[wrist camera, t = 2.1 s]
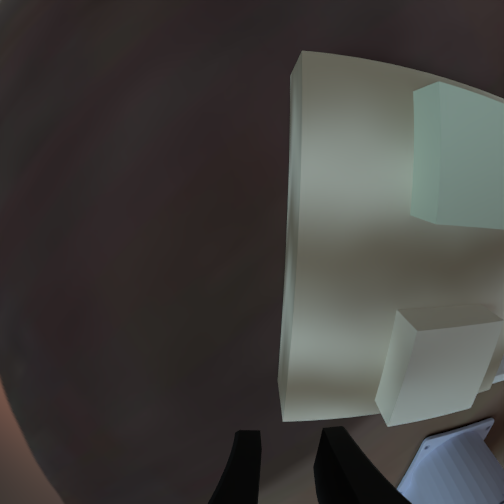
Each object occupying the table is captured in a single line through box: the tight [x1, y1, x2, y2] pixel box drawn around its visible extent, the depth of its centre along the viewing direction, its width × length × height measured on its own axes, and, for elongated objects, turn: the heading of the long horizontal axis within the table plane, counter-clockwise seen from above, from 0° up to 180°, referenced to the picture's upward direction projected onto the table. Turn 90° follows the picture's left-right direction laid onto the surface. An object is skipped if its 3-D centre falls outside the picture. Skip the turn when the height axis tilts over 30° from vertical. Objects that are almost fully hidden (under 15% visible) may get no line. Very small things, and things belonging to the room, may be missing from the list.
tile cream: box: [375, 304, 504, 427], centre depth 12 cm, size 5×5×2 cm
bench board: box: [278, 51, 504, 422], centre depth 14 cm, size 16×13×4 cm
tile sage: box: [410, 81, 504, 230], centre depth 10 cm, size 5×5×2 cm
